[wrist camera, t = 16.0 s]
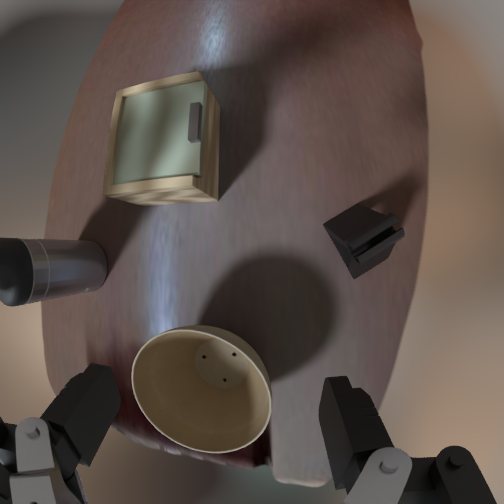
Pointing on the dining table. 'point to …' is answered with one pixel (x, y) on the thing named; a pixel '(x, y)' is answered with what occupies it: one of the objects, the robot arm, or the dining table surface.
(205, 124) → the bread box
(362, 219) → the phone stand
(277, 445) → the dining table surface
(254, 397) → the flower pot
